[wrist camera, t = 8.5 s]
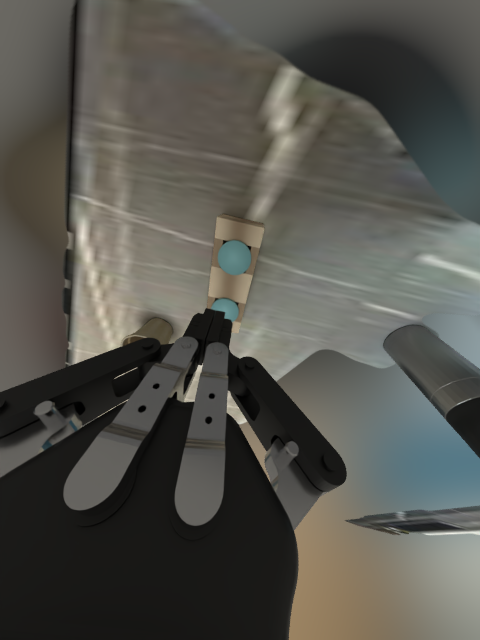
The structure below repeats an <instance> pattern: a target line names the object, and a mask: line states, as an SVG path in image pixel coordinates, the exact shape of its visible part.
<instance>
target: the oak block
mask: <svg viewBox="0 0 480 640" xmlns="http://www.w3.org/2000/svg"><path fill="white" fill-rule="evenodd" d="M264 230H265V228H264V225H263V223H259V222H255V221H250V220H246V219H242V218H238V217H234V216H230V215H225V214H222V215H220V216H218V217H217V222H216V231H215V240H214V249H213V258H212V266H211V275H210V284H209V293H208V302H207V308H208V309H211V307H212V305H213V303H214V302H215V301H216V300H217V299H218V298H229V299H231V300H233V301H234V302H238V303H237V305H238V308H239V313H238V317H237V319H236V320H235V321H233V322H232V323H233V326H232V332H234V333H238V332H239V328H240V324H241V320H242V316H243V312H244V308H245V304H246V300H247V296H248V293H249V289H250V285H251V281H252V277H253V273H254V269H255V265H256V261H257V257H258V253H259V249H260V245H261V241H262V237H263V234H264ZM230 240H238V241H241V242H243V243H244V244H246V245H248V246H250V249H249V250H250V253H251V263H250V266H249V268H248V269H247V270H246V271H245V272H244V273H242V274H240V275H230V274H228V273H226V272H225V271H223V270H222V268H221V267H220V265H219V263H218V252H219V250H220V248H221V247H222V245H223V244H224V243H226V242H227V241H230Z"/></svg>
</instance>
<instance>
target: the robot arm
mask: <svg viewBox="0 0 480 640" xmlns="http://www.w3.org/2000/svg"><path fill="white" fill-rule="evenodd" d="M232 326H233V323H232V321H231V320H230V319H225V312H223V311H218V310H213V309H208V308H206V309H205V312H204V314H200V313H197V314H196V315H194V316H193V318H192V320H191V322H190V324H189V326H188V328H187V329H186V331H185V333H184V335H183V337H181V338H179V339H177V340H176V341H175V343H173V344H161V345H160V342H159V340H157V339H155V338H143V339H140V340H138V341H135V342H132V343H130V344H127V345H124V346H122V347H119V348H116V349H114V350H111V351H108V352H106V353H103V354H100V355H98V356H95V357H93V358H90V359H87V360H85V361H82V362H79V363H77V364H74V365H71V366H69V367H66V368H63V369H61V370H58V371H56V372H53V373H50V374H47V375H45V376H42V377H40V378H37V379H34V380H32V381H29V382H26V383H24V384H21V385H19V386H16V387H13V388H10V389H8V390H5V391H3V392H0V640H289V627H290V616H291V609H292V603H293V598H294V594H295V589H296V584H297V577H298V549H297V542H296V537H295V534H294V530H295V529H296V527H297V526H298V525H299V523H300V522H301V521H302V519H303V518H304V517H305V515H306V514H307V513H308V511H309V510H310V509H311V507H312V506H313V505H314V503H315V502H316V501H317V500H318V498H319V497H320V496H322V495H324V494H326V493H327V492H329V491H331V490H333V489H335V488H336V487H338V486H340V485H342V484H343V483H344V482H345V480H346V476H347V475H346V474H347V473H346V467H345V464H344V462H343V460H342V458H341V457H340V455H339V454H338V453H337V451H336V450H335V449H334V448H333V447H332V446H331V445H330V443H329V442H328V441H327V440H326V439H325V438H324V436H323V435H322V434H321V433H320V432H319V431H318V430H317V428H316V427H315V426H314V425H313V424H312V423H311V422H310V420H309V419H308V418H307V417H306V416H305V415H304V413H303V412H302V411H301V410H300V409H299V408H298V407H297V405H296V404H295V403H294V402H293V401H292V400H291V399H290V397H289V396H288V395H287V394H286V393H285V392H284V390H283V389H282V388H281V387H280V386H279V385H278V384H277V382H276V381H275V380H274V379H273V378H272V377H271V376H270V374H269V373H268V372H267V371H266V370H265V369H264V367H263V366H262V365H261V364H260V363H259V362H258V361H257V360H256V359H254V358H252V357H243V358H241V359H239V358H237V357H235V356H234V355H233V354H232V353H231V352H230V350H229V344H230V338H231V332H232ZM384 349H385V351H386V352H387V353H388V354H389V355H390V356H391V358H392V359H393V360H394V361H395V362H396V363H397V365H398V366H399V367H400V368H401V369H402V370H403V371H404V373H405V374H406V375H407V376H408V377H409V378H410V379H411V381H412V382H413V383H414V384H415V385H416V386H417V387H418V389H419V390H420V391H421V392H422V393H423V394H424V395H425V397H426V398H427V399H428V400H429V401H430V402H431V403H432V404H433V406H434V407H435V408H436V409H437V410H438V411H439V412H440V414H441V415H442V416H443V417H444V418H445V419H446V421H447V422H448V423H449V424H450V425H451V426H452V427H453V428H454V430H455V431H456V432H457V433H458V434H459V435H460V436H461V437H462V439H463V440H465V442H466V443H467V444H468V445H469V446H470V448H471V449H472V450H473V451H474V452H475V453H476V455H477V456H478V457H479V458H480V369H479V368H478V367H476V366H475V365H474V364H472V363H471V362H470V361H468V360H467V359H466V358H464V357H463V356H462V355H460V354H459V353H458V352H456V351H455V350H454V349H452V348H451V347H450V346H448V345H447V344H446V343H444V342H443V341H442V340H440V339H439V338H438V337H437V336H435V335H434V334H433V333H431V332H430V331H429V330H427V329H426V328H424V327H422V326H418V325H412V326H406V327H403V328H400V329H398V330H396V331H394V332H393V333H392V334H390V335H389V336H388V337H387V339H386V340H385V342H384ZM203 360H204V361H203ZM202 363H203V367H202V372H201V374H200V379H199V383H198V388H197V393H196V398H195V402H184V399H185V397H186V394H187V392H188V390H189V387H190V385H191V383H192V381H193V378H194V376H195V372H196V370H197V367H198V365H202ZM136 367H138V368H136ZM134 368H136V369H134ZM132 369H134V370H132ZM130 370H132V371H130ZM128 371H130V372H128ZM126 372H128V373H126ZM123 373H126V374H124V375H122V376H120V377H118V378H116V377H117V376H119V375H121V374H123ZM114 378H115V379H114ZM228 391H230V393H231V396H232V397H233V399H234V401H235V402H236V404H237V405H238V407H239V409H240V410H241V412H242V413H243V415H244V416H245V418H246V420H247V421H248V423H249V424H250V426H251V427H252V429H253V431H254V432H255V434H256V435H257V437H258V439H259V440H260V442H261V443H262V445H263V446H264V448H265V450H266V451H267V452H266V455H265V467H266V470H267V472H268V474H269V477H270V481H271V483H270V482H269V480H268V478H267V476H266V474H265V472H264V471H263V469H262V467H261V465H260V463H259V461H258V460H257V458H256V456H255V454H254V452H253V450H252V448H251V447H250V445H249V443H248V441H247V439H246V438H245V436H244V434H243V432H242V430H241V428H240V427H239V425H238V423H237V422H236V421H235V420H234V418H233V417H232V416H230V415H229V414H228V413H226V412H227V393H228ZM127 399H129V400H128V401H126V400H127ZM124 401H126V402H124ZM122 402H124V403H122ZM120 403H122V404H120ZM119 404H120V405H119ZM117 405H118V406H117ZM115 406H116V407H115ZM113 407H115V408H113ZM112 408H113V409H112ZM110 409H111V410H110ZM108 410H110V411H108ZM106 411H108V412H107V413H105V412H106ZM103 413H105V414H103ZM101 414H103V415H102V416H100V417H98V416H99V415H101ZM96 417H98V418H97V419H95V420H94V421H92V422H90V423H89V424H87V425H85V426H84V427H82V428H81V426H82V425H84V424H86V423H87V422H89V421H91V420H93V419H94V418H96Z"/></svg>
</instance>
